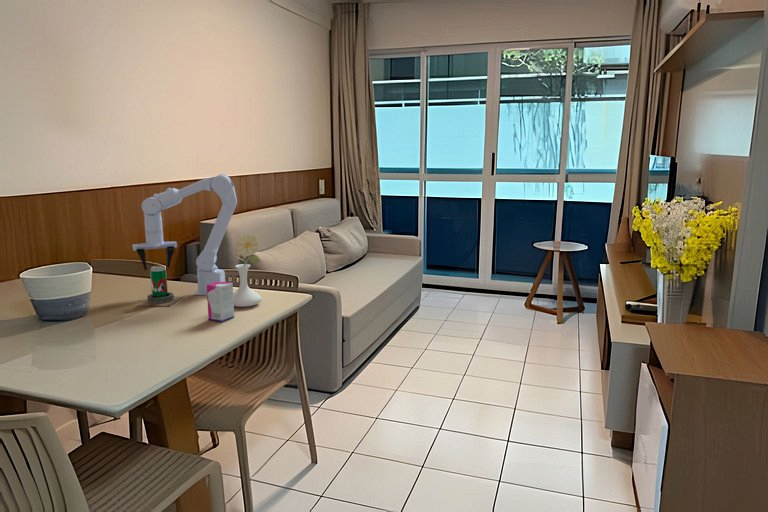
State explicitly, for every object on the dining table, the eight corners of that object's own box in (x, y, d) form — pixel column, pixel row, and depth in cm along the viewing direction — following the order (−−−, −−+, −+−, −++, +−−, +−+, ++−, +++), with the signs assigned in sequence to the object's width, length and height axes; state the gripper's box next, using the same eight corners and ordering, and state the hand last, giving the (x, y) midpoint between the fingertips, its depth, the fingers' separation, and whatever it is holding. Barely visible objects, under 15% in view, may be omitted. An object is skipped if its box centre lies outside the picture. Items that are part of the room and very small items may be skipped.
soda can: (170, 298, 185) (167, 265, 183) (165, 302, 180) (162, 268, 178) (155, 298, 185) (153, 265, 183) (150, 302, 180) (147, 268, 178)
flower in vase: (220, 307, 178) (216, 234, 173) (241, 298, 188) (238, 229, 183) (252, 311, 173) (249, 236, 168) (272, 302, 183) (269, 232, 178)
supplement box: (235, 317, 167) (233, 282, 165) (222, 322, 162) (220, 286, 160) (220, 314, 170) (218, 280, 167) (207, 320, 164) (205, 284, 162)
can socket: (182, 297, 188) (182, 291, 188) (170, 306, 178) (169, 299, 177) (152, 297, 188) (151, 290, 188) (137, 306, 178) (137, 299, 177)
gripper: (132, 234, 180) (135, 272, 183) (177, 231, 187) (180, 268, 190) (130, 231, 186) (134, 268, 189) (174, 228, 193) (176, 264, 196)
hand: (157, 268), depth 190 cm, fingers open, 7 cm apart
